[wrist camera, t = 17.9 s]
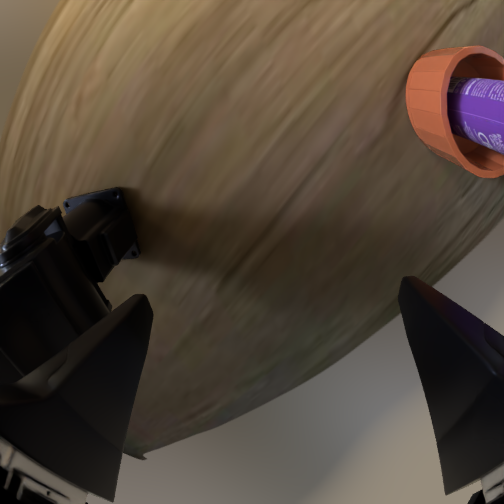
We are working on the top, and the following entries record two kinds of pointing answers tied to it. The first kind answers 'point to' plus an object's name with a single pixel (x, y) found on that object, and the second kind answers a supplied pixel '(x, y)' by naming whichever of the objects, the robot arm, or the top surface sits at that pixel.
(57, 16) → the top surface
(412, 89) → the orange-brown bowl
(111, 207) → the robot arm
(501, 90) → the container
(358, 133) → the top surface
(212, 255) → the top surface
